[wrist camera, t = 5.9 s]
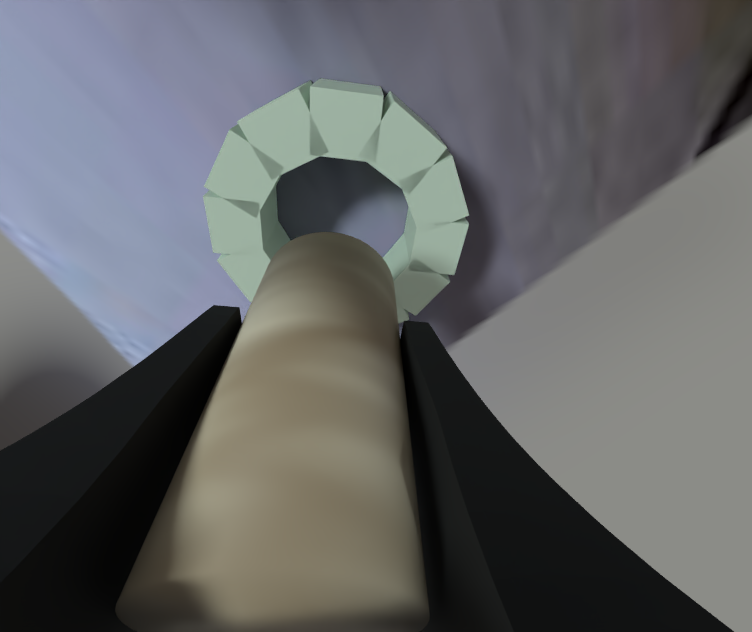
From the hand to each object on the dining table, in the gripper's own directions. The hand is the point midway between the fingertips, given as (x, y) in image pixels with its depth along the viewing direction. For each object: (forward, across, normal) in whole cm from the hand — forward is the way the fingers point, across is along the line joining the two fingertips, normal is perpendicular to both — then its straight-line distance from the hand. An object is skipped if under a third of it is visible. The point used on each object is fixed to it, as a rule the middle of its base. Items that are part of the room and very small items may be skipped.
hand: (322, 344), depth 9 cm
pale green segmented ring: (+9, 0, 0) cm, 9 cm away
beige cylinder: (+2, 0, 0) cm, 2 cm away
